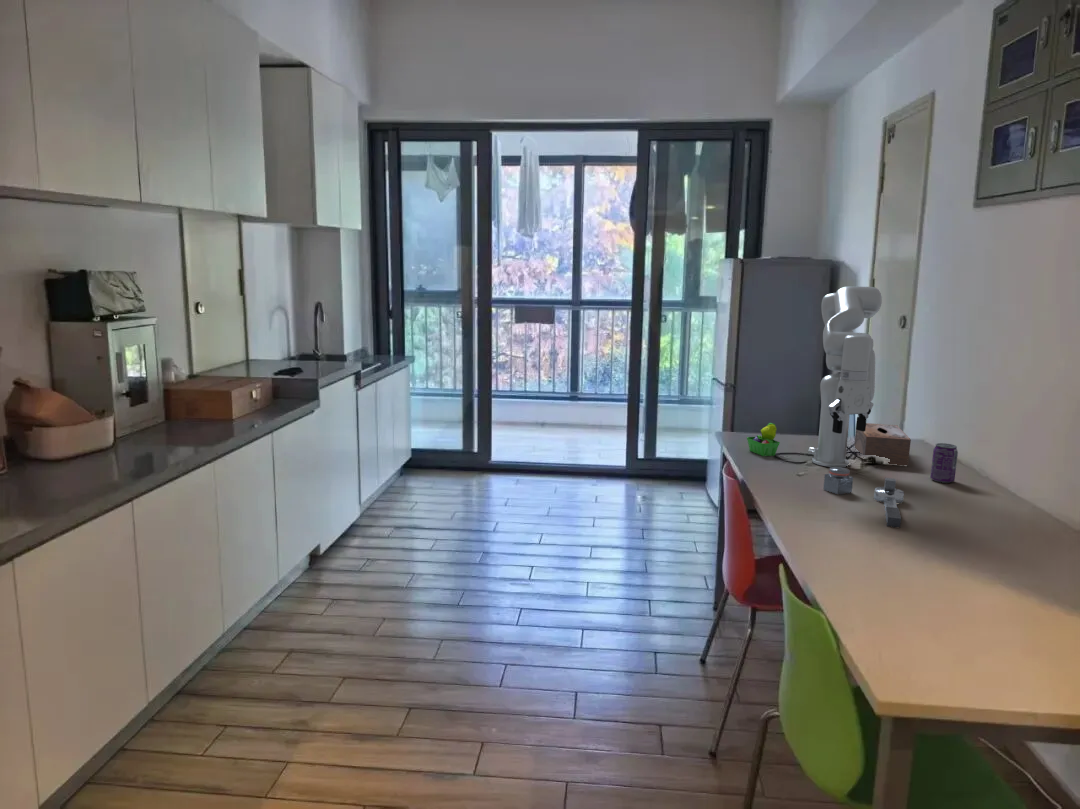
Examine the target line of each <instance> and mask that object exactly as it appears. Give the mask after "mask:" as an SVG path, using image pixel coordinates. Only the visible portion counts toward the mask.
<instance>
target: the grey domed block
mask: <svg viewBox="0 0 1080 809" xmlns="http://www.w3.org/2000/svg"><path fill="white" fill-rule="evenodd" d="M828 468H829V470H828V473H824V479H823V480H824V481H823V489H824V491H826V492H828V491H829V493H831V492H832V493H831V494H834V493H835V495H836V494H840V495H845V494H844V493H847V494H851V493H850V492H852V493H853V483H854V477H853V476H851V475H850V469H848V468H847V467H828ZM823 489H822V490H823Z"/></svg>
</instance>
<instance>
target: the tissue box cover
mask: <svg viewBox="0 0 1080 809" xmlns="http://www.w3.org/2000/svg"><path fill="white" fill-rule="evenodd" d="M854 433H855V435H854V444H853V445H854V446H855V448H856V449H857V450H858V451H859V452H860V453H862V454H863V455H876V456H879V457H885V458H888V459H890V462H888V463H889V464H897V465H908V466H909V460H910V449H911V442H912V440H911V438H910V437H909V436H908V435H907V434H906V433H905V432H904V431H903V430H902V429H901V428H900V427H899V426H898V425H896V424H884V423H883V424H882V423H871V422H866V430H865V431H864V432H863V431H859V430H856V429H855V432H854ZM854 446H853V447H854ZM855 448H854V449H855ZM856 449H855V450H856Z"/></svg>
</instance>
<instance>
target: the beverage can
mask: <svg viewBox="0 0 1080 809" xmlns="http://www.w3.org/2000/svg"><path fill="white" fill-rule="evenodd" d="M958 455H959V451H958V446H957V445H954V444H952V443H945V442H944V443H943V442H940V443H935V446H934V448H933V452H932V459H931V469H930V479H932V480H933V481H934V482H937V483H941V482H942V483H943V484H949V483H952V482H954V481H955V480H956V473H957V472H956V471H957V464H958V462H957V461H958ZM942 483H941V484H942Z"/></svg>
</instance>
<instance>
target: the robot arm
mask: <svg viewBox="0 0 1080 809" xmlns="http://www.w3.org/2000/svg"><path fill="white" fill-rule="evenodd" d="M882 301H883V296H882V293H881V291H880V289H878V288H877V287H874V286H856V285H855V286H853V285H852V286H851V285H850V286H849V285H848V286H842V287H841V288H839V289H837V290H836V292H833V293H831V292H830V293H828V294H826V295H824V296H823V297H822V300H821V315H822V316H821V317H822V321H823V324H824V328H823V331H822V332H823V333H822V342H823V344H822V345H823V350H824V353H825V363H826V365H825V366H826V368H827V369H828V370H830V371H832V372H840V373H839V374H833V373H832V374H829V375H828V374H827V375H825V376H824V377H822V379H821V381H820V384H819V386H820V387H819V388H820V389H819V390H820V391H819V392H820V416H819V431H818V440H817V447H816V448H815V447H813V446H812V447H811V446H810V447H809V448H808V450H807V453H808V454H811V455H813V457H812V458H811V462H812V463H813V464H815V465H817V466H822V467H823V466H824V467H828V468H831V467H842V468H847V467H848V466H847V465H848V464H849V461H850V460H849V459H847V457H846V456H847V449H848V448H847V446H848V439H849V438H848V436H849V426H850V415H852V416H853V415H857V417H856V424H855V431H856V430H859V431H863V432H864V431H865V430H866V423H867V420H868V418H869V415H870V414H871V412H872V409H873V407H874V403H873V402H872V401H873V400H874V396H875V388H876V353H875V349H873V348H874V339H873V338H872V336H871V334H868V333H865V332H853V330H855V329H858V328H859V327H860V326H861V325H863V323H864V321H865V319H870V318H872V317H874V316H875V315H876V314H877V313H879V311H880V309H881V307H882V303H883V302H882ZM848 460H849V461H848ZM846 466H847V467H846Z"/></svg>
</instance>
